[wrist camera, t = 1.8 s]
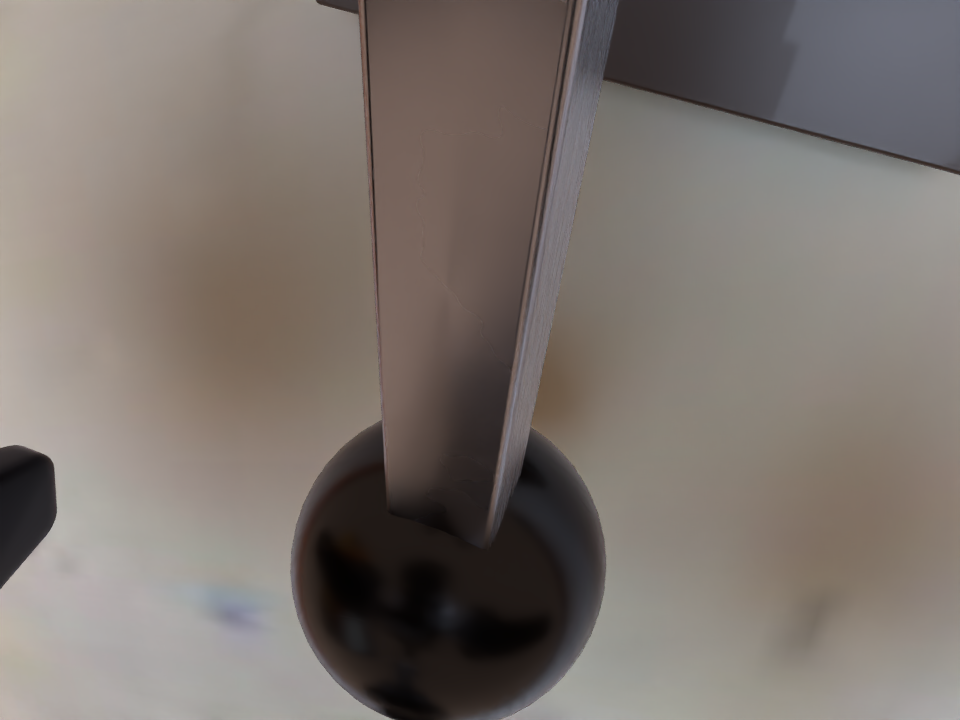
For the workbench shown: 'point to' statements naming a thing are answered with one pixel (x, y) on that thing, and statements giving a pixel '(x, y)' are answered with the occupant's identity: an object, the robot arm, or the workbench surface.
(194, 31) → the workbench surface
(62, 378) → the workbench surface
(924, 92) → the bracket
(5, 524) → the robot arm
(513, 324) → the lever
